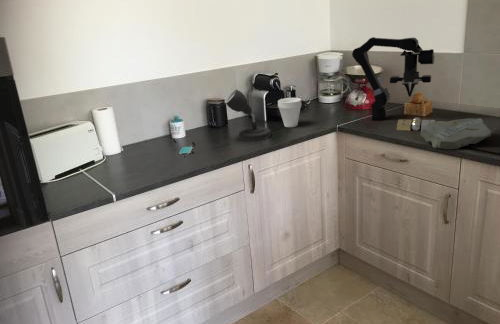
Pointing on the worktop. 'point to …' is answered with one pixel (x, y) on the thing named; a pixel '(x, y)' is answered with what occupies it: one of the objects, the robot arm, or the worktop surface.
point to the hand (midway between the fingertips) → (409, 96)
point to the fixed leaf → (424, 123)
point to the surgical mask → (185, 149)
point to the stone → (455, 133)
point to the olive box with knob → (405, 124)
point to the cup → (290, 111)
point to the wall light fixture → (240, 104)
